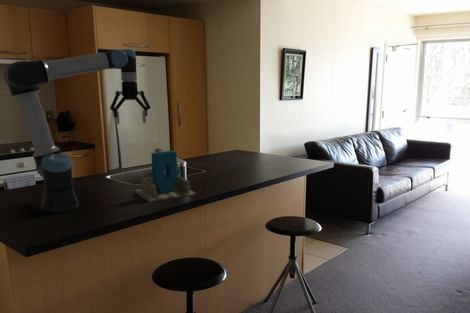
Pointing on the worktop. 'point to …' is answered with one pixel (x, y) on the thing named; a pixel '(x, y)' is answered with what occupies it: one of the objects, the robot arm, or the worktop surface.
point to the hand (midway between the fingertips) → (131, 123)
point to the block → (170, 178)
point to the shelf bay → (151, 195)
